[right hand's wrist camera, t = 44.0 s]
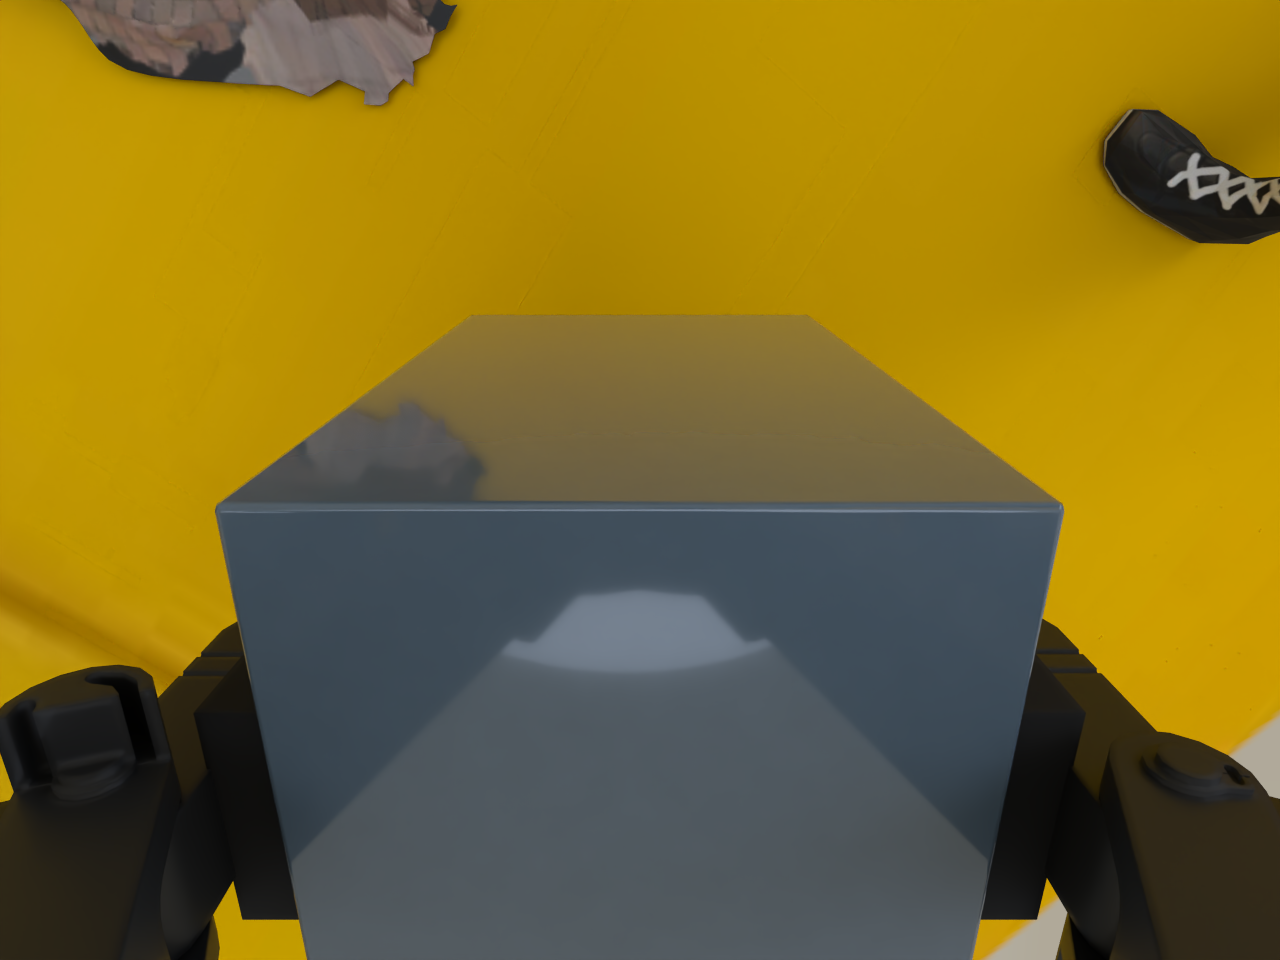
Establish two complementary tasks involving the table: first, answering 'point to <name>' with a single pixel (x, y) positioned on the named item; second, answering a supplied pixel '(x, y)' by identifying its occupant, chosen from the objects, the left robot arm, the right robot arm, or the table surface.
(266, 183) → the table surface
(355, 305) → the table surface
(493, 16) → the table surface
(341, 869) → the block
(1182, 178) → the figurine
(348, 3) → the sculpture
